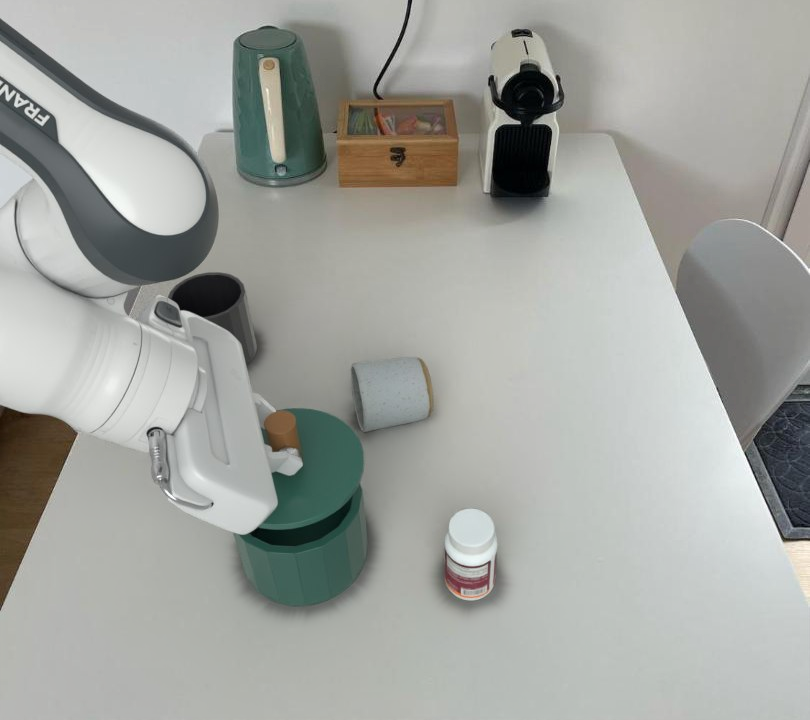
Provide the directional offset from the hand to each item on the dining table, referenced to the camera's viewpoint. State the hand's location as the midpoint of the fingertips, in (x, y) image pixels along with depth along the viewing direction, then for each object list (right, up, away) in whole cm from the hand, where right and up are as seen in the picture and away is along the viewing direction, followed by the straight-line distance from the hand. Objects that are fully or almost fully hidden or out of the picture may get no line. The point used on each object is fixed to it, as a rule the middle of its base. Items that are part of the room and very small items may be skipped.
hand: (292, 446), depth 68 cm
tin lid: (-1, -2, +2) cm, 3 cm away
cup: (-13, +8, +33) cm, 36 cm away
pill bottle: (+16, -13, +8) cm, 22 cm away
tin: (0, -11, +11) cm, 16 cm away
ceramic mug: (+7, +2, +25) cm, 26 cm away
